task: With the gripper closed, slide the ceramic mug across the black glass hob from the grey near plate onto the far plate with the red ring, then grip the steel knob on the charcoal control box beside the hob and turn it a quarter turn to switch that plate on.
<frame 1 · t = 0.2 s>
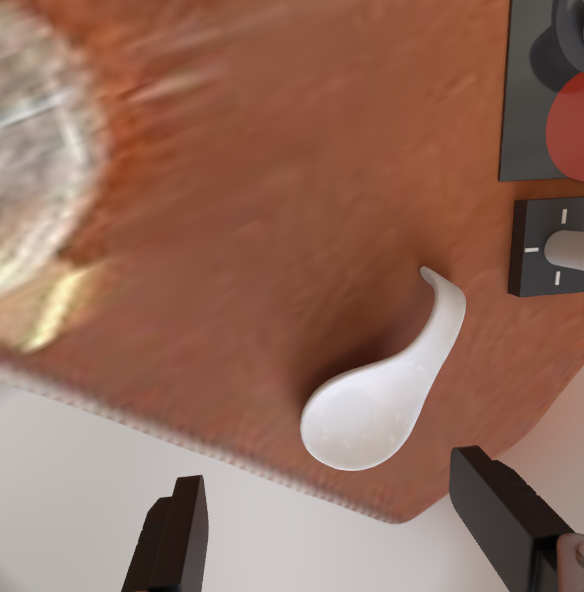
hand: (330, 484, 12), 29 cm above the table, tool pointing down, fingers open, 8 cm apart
spoon rest: (375, 363, 44), on the table
control box: (545, 245, 42), on the table
hob knob: (581, 250, 38), point 5 cm above the table, hinge at 0.0°
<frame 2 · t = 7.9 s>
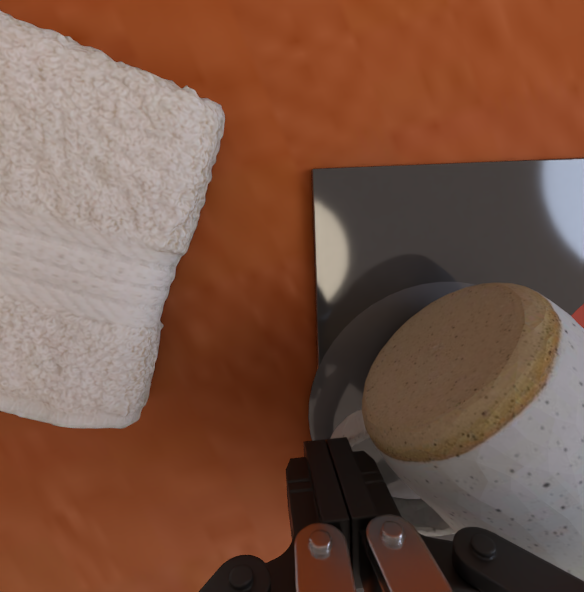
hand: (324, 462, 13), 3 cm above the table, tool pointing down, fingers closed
ceramic mug: (432, 404, 17), resting on hob, touching gripper
hob: (537, 392, 18), on the table
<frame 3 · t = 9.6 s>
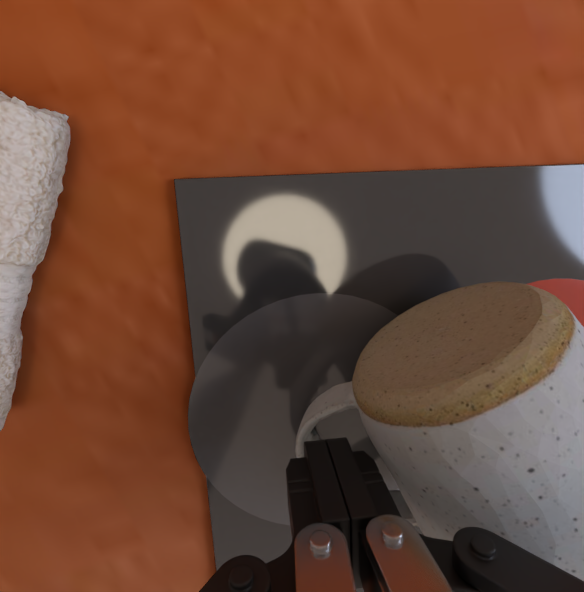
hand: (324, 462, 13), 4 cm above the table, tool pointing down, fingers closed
ceramic mug: (413, 399, 17), resting on hob, touching gripper
hob: (429, 405, 17), on the table
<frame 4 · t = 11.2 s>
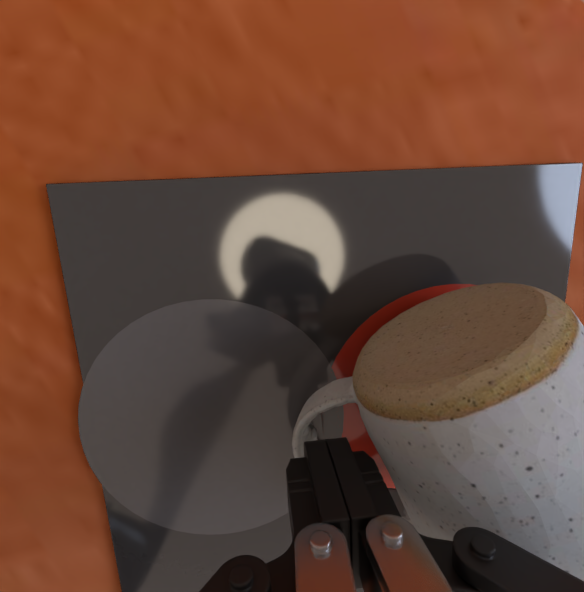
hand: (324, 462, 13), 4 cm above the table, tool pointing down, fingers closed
ceramic mug: (411, 398, 17), resting on hob, touching gripper
hob: (331, 412, 17), on the table
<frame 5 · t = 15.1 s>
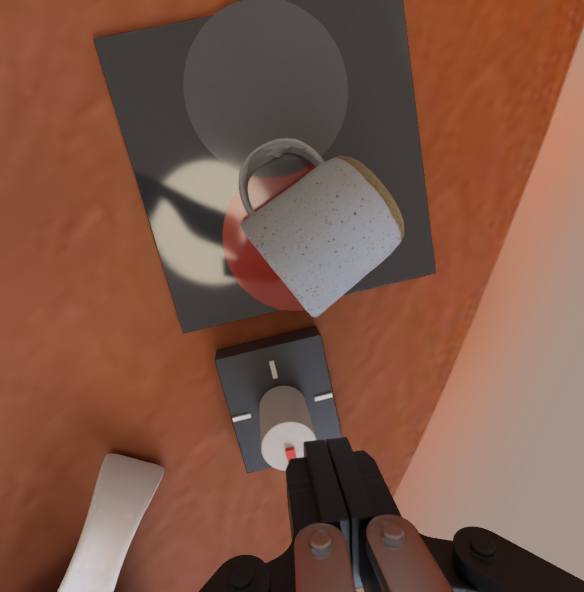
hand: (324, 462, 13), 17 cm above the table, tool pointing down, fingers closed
spoon rest: (97, 566, 34), on the table
control box: (280, 394, 32), on the table
ceramic mug: (299, 218, 28), resting on hob
hob knob: (285, 426, 27), point 5 cm above the table, hinge at 0.0°
hob: (283, 169, 28), on the table
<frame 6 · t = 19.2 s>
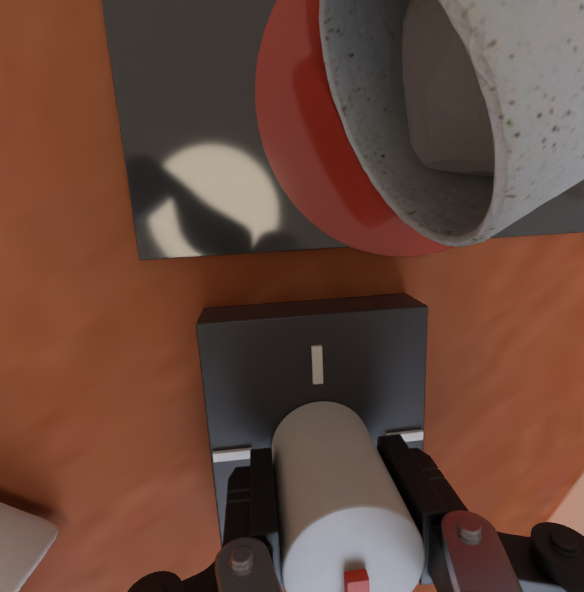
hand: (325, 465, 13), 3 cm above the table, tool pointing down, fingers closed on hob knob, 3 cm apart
control box: (311, 415, 16), on the table
ceramic mug: (424, 55, 13), resting on hob
hob knob: (335, 497, 12), point 5 cm above the table, hinge at 0.1°, touching gripper
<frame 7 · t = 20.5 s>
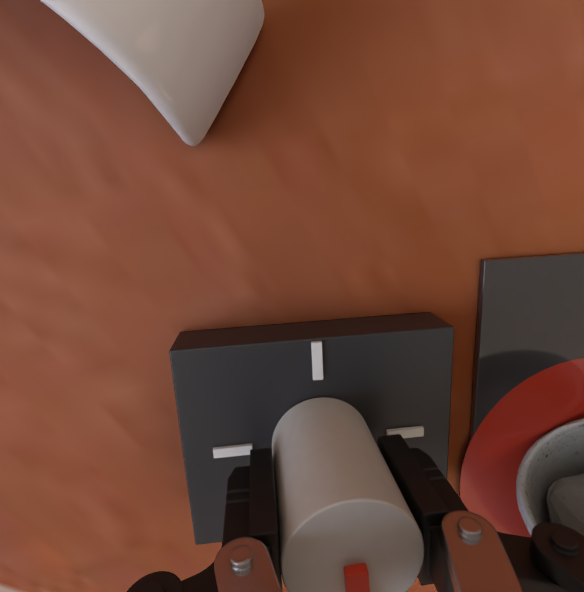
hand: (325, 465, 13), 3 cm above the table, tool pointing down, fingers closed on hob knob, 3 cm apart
control box: (312, 412, 16), on the table
hob knob: (334, 493, 12), point 5 cm above the table, hinge at 93.2°, touching gripper
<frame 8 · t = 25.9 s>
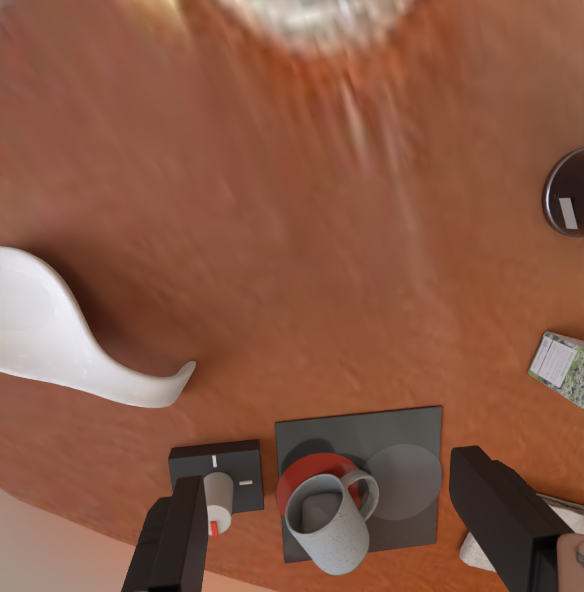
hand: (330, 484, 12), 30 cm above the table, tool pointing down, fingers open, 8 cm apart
spoon rest: (86, 327, 41), on the table
control box: (218, 473, 46), on the table
ceramic mug: (331, 492, 48), resting on hob
hob knob: (215, 503, 41), point 5 cm above the table, hinge at 92.7°
syrup box: (552, 356, 47), on the table
washcloth: (526, 528, 53), on the table
hob: (360, 485, 48), on the table
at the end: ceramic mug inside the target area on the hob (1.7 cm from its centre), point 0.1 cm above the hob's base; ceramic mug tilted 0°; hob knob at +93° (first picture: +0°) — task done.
